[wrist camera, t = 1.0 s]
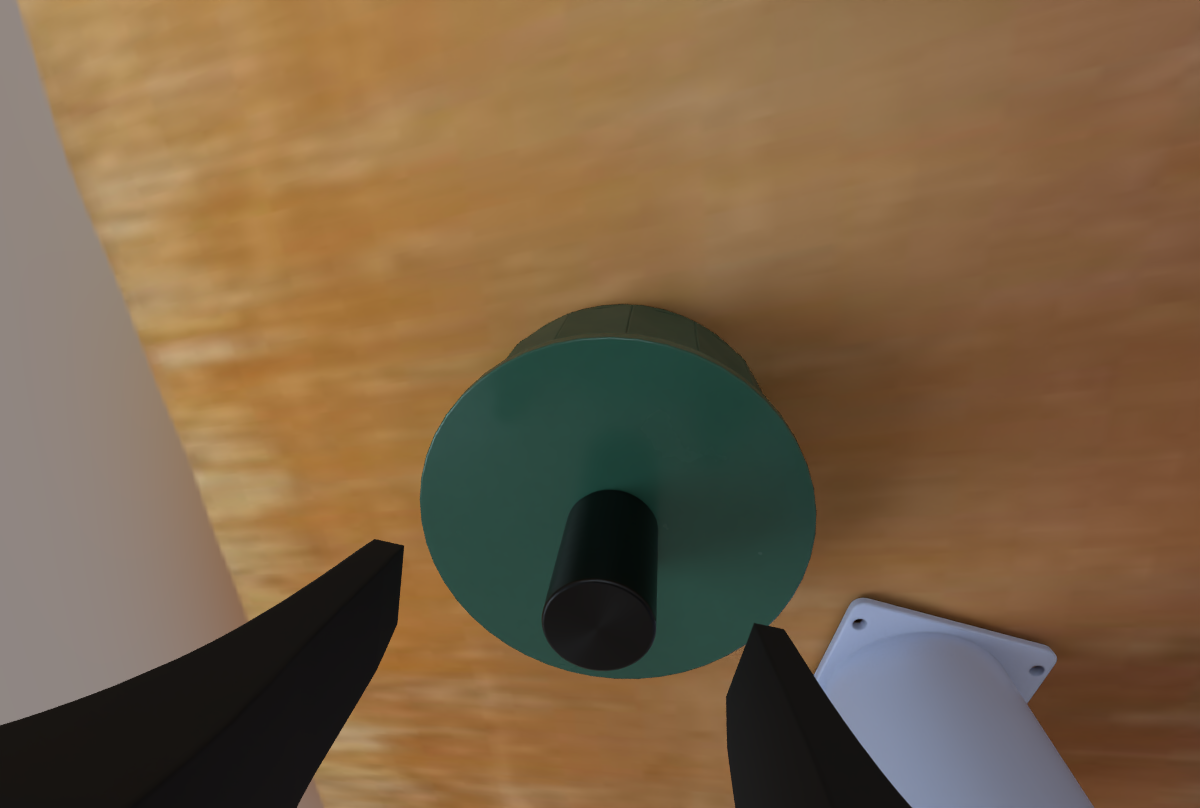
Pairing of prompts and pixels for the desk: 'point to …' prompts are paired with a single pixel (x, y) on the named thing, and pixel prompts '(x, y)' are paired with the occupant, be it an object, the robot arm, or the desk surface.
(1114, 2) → the desk surface
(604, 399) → the lid
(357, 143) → the desk surface
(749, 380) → the pot
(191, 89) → the desk surface
